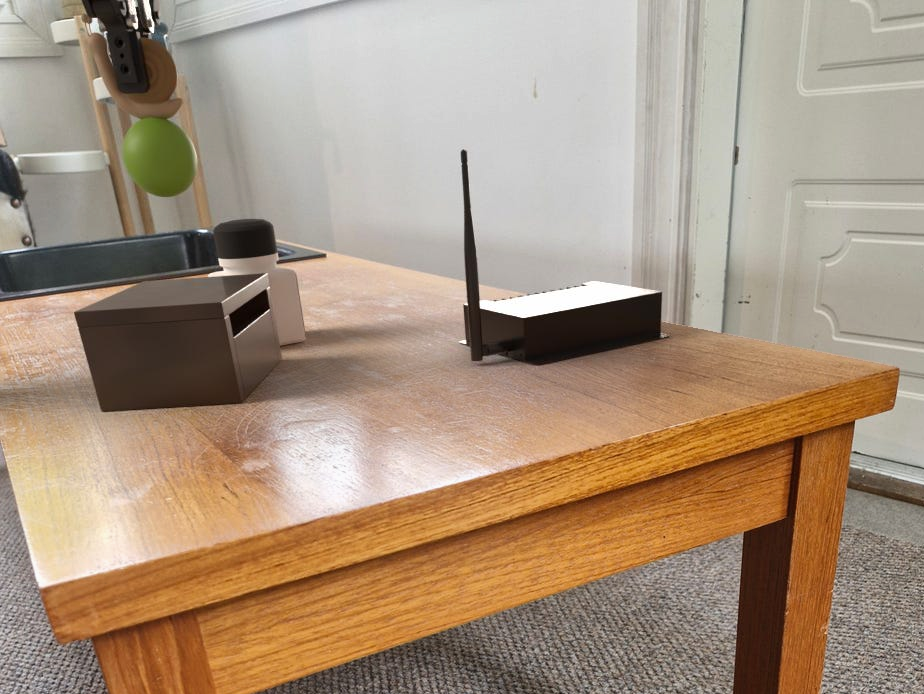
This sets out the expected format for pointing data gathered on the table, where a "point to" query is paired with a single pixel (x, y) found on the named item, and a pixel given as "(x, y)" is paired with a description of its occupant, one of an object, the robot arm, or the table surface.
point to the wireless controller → (553, 313)
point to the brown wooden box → (181, 342)
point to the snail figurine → (151, 121)
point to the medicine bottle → (262, 270)
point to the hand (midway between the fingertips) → (140, 92)
